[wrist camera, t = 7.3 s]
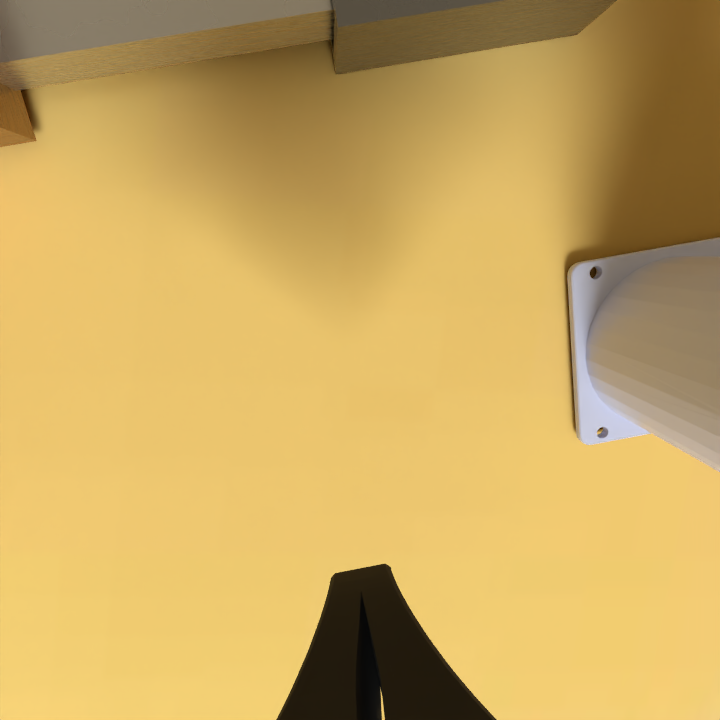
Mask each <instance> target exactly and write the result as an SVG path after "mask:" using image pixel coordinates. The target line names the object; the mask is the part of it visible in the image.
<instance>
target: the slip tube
mask: <svg viewBox="0 0 720 720" xmlns="http://www.w3.org/2000/svg"><path fill="white" fill-rule="evenodd" d="M334 19H335V15H334V9H333V3H332V0H0V147H2V146H8V145H15V144H21V143H27V142H33V141H36V138H35V135H34V132H33V129H32V125H31V122H30V119H29V116H28V113H27V110H26V106H25V103H24V100H23V97H22V94H21V91H20V90H24V89H30V88H36V87H42V86H48V85H54V84H61V83H67V82H73V81H79V80H85V79H91V78H98V77H104V76H110V75H116V74H122V73H129V72H135V71H141V70H147V69H153V68H159V67H166V66H172V65H178V64H184V63H190V62H196V61H203V60H209V59H215V58H221V57H227V56H233V55H240V54H246V53H252V52H258V51H264V50H270V49H277V48H283V47H289V46H295V45H301V44H308V43H314V42H320V41H326V40H332V39H334Z"/></svg>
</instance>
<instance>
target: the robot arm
mask: <svg viewBox="0 0 720 720" xmlns="http://www.w3.org/2000/svg"><path fill="white" fill-rule="evenodd" d="M592 267H595V268H596V270H597V273H596V275H595V277H594V278H591V277H590V270H591V269H592ZM567 279H568V296H569V314H570V332H571V350H572V368H573V385H574V403H575V421H576V435H577V438H578V439H579V440H580V441H581V442H583V443H584V444H587V445H593V444H598V443H603V442H608V441H614V440H619V439H624V438H630V437H635V436H640V435H646V434H651V433H652V434H653V435H655V436H657V437H659V438H660V439H662V440H664V441H666V442H668V443H669V444H671V445H673V446H675V447H676V448H678V449H680V450H682V451H683V452H685V453H687V454H689V455H690V456H692V457H694V458H696V459H697V460H699V461H701V462H703V463H705V464H706V465H708V466H710V467H712V468H713V469H715V470H717V471H719V472H720V237H717V238H711V239H706V240H700V241H694V242H689V243H683V244H677V245H672V246H666V247H661V248H655V249H649V250H644V251H638V252H632V253H627V254H621V255H616V256H610V257H604V258H599V259H593V260H587V261H582V262H578V263H575V264H573V265H572V266H571V267H570V269H569V271H568V276H567ZM601 427H603V431H602V432H601V433H600V434H598V435H597V431H598V429H599V428H601ZM380 687H381V692H382V696H383V705H384V714H385V720H496V719H495V718H494V717H493V716H492V714H491V713H490V712H489V711H488V710H487V709H486V708H485V707H484V706H483V705H482V704H481V703H480V701H479V700H478V699H477V698H476V697H475V696H474V695H473V694H472V692H471V691H470V690H469V689H468V688H467V687H466V685H465V684H464V683H463V682H462V681H461V680H460V678H459V677H458V676H457V675H456V673H455V672H454V671H453V670H452V668H451V667H450V666H449V665H448V663H447V662H446V661H445V659H444V658H443V657H442V655H441V654H440V653H439V651H438V650H437V649H436V647H435V646H434V645H433V643H432V642H431V640H430V639H429V637H428V636H427V635H426V633H425V632H424V630H423V629H422V627H421V625H420V624H419V622H418V621H417V619H416V618H415V616H414V615H413V613H412V611H411V610H410V608H409V606H408V605H407V603H406V601H405V599H404V597H403V595H402V594H401V592H400V590H399V588H398V586H397V584H396V581H395V579H394V576H393V574H392V571H391V567H390V566H388V565H387V564H381V565H376V566H371V567H365V568H360V569H355V570H350V571H345V572H340V573H335V574H334V575H333V577H332V578H331V581H330V586H329V590H328V594H327V598H326V601H325V605H324V608H323V611H322V614H321V617H320V620H319V623H318V626H317V629H316V631H315V634H314V637H313V639H312V642H311V645H310V647H309V650H308V653H307V655H306V657H305V660H304V662H303V664H302V667H301V669H300V671H299V673H298V676H297V678H296V680H295V683H294V685H293V687H292V689H291V691H290V694H289V696H288V698H287V700H286V702H285V704H284V706H283V708H282V710H281V712H280V714H279V716H278V718H277V720H382V714H381V693H380Z"/></svg>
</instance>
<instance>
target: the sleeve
mask: <svg viewBox="0 0 720 720" xmlns="http://www.w3.org/2000/svg"><path fill="white" fill-rule="evenodd" d="M616 1H617V0H332V3H333V9H334V15H335V19H334V39H332V40H330V41H331V48H332V54H333V60H334V66H335V72H336V74H340V73H347V72H353V71H359V70H365V69H371V68H377V67H383V66H389V65H395V64H401V63H407V62H414V61H420V60H426V59H432V58H438V57H444V56H450V55H456V54H462V53H468V52H475V51H481V50H487V49H493V48H499V47H505V46H511V45H517V44H523V43H529V42H535V41H542V40H548V39H554V38H560V37H566V36H572V35H577V34H578V33H580V32H581V31H582V30H583V29H584V28H585V27H587V26H588V25H589V24H590V23H591V22H592V21H593V20H595V19H596V18H597V17H598V16H599V15H600V14H602V13H603V12H604V11H605V10H606V9H607V8H609V7H610V6H611V5H612V4H613V3H614V2H616Z"/></svg>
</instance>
